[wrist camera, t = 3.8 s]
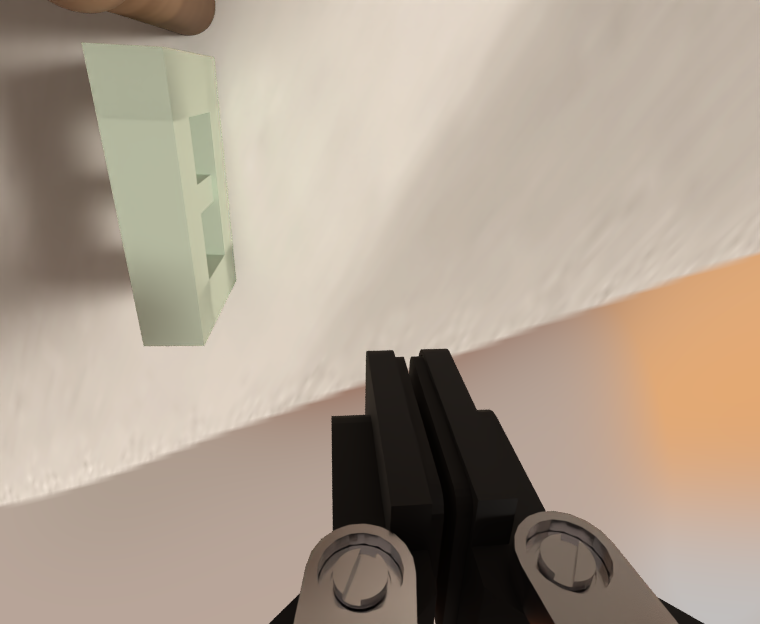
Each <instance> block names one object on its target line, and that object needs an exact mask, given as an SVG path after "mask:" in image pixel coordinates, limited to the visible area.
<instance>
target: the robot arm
mask: <svg viewBox="0 0 760 624" xmlns="http://www.w3.org/2000/svg"><path fill="white" fill-rule="evenodd" d="M365 398H366V399H365V400H366V402H365V403H366V404H365V415H351V416H332V489H333V490H332V499H333V531H332V532H331V533H329V534H328V535H326V536H325V537H324V538H322V539H321V540H320V541H319V543H318V544H317V545H316V546H315V548H314V549H313V550H312V551H311V554H310V557H309V559H308V562H307V564H306V567H305V572H304V577H303V581H302V586H301V591H300V594H299V595H298V596H297V597H296V598H295V599H294V600H293V601H292V602H291V603H290V604H289V605H288V606H287V607H286V608H285V609H283V610H282V611H281V613H279V615H277V616H276V617H275V618H274V619H273V620H272V621H271V622H270V623H269V624H434V618H435V623H436V624H704V623H702V622H700V621H698V620H697V619H695V618H693V617H691V616H690V615H688V614H686V613H684V612H683V611H681V610H679V609H677V608H675V607H674V606H672V605H670V604H668V603H667V602H665V601H663V600H661V599H660V598H658V597H656V595H655V594H654V593H653V592H652V590H651V589H650V588H649V587H648V585H647V584H646V583H645V582H644V581H643V579H642V578H641V577H640V575H639V574H638V573H637V572H636V571H635V569H634V568H633V567H632V566H631V564H630V563H629V562H628V561H627V559H626V558H625V557H624V556H623V554H622V553H621V552H620V551H619V550H618V548H617V547H616V546H615V544H614V543H613V542H612V541H611V540H610V539H609V538H608V537H607V536H606V535H605V534H604V533H603V532H602V531H601V530H599V529H598V528H596V527H595V526H593V525H592V524H590V523H589V522H587V521H585V520H583V519H581V518H578V517H576V516H573V515H571V514H567V513H562V512H556V511H547V512H546V511H545V509H544V507H543V505H542V503H541V501H540V499H539V497H538V495H537V493H536V492H535V490H534V488H533V486H532V484H531V482H530V480H529V478H528V477H527V475H526V472H525V471H524V469H523V467H522V465H521V463H520V461H519V459H518V457H517V455H516V453H515V451H514V449H513V447H512V445H511V444H510V442H509V440H508V438H507V436H506V434H505V432H504V430H503V428H502V426H501V424H500V422H499V421H498V419H497V417H496V415H495V414H494V412H493V411H491V410H477V409H476V408H475V405H474V403H473V401H472V399H471V397H470V395H469V393H468V390H467V388H466V386H465V384H464V382H463V380H462V377H461V375H460V373H459V371H458V369H457V367H456V365H455V363H454V360H453V358H452V356H451V354H450V352H449V350H448V349H421V350H420V353H419V356H417V357H411V359H410V368H409V373H408V369H407V366H406V363H405V359H404V357H395V354H394V351H393V350H387V351H367V352H366V396H365Z"/></svg>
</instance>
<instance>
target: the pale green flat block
mask: <svg viewBox="0 0 760 624" xmlns="http://www.w3.org/2000/svg"><path fill="white" fill-rule="evenodd" d="M81 44H82V49H83V54H84V58H85V63H86V68H87V73H88V78H89V83H90V88H91V92H92V97H93V102H94V107H95V112H96V117H97V121H98V126H99V131H100V136H101V141H102V146H103V151H104V155H105V160H106V165H107V170H108V175H109V180H110V185H111V189H112V194H113V199H114V204H115V209H116V214H117V219H118V223H119V228H120V233H121V238H122V243H123V248H124V252H125V257H126V262H127V267H128V272H129V277H130V282H131V286H132V291H133V296H134V301H135V306H136V311H137V316H138V320H139V325H140V330H141V335H142V340H143V345H144V346H204V345H205V343H206V341H207V339H208V337H209V335H210V333H211V331H212V329H213V327H214V325H215V323H216V321H217V319H218V317H219V315H220V313H221V311H222V309H223V306H224V304H225V302H226V300H227V298H228V296H229V294H230V292H231V290H232V288H233V286H234V284H235V282H236V274H235V264H234V254H233V244H232V233H231V223H230V213H229V203H228V193H227V183H226V173H225V163H224V152H223V142H222V132H221V122H220V112H219V102H218V92H217V82H216V72H215V61H214V57H210V56H205V55H200V54H195V53H190V52H185V51H180V50H175V49H170V48H165V47H155V46H136V45H118V44H99V43H81Z"/></svg>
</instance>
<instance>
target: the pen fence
mask: <svg viewBox="0 0 760 624" xmlns="http://www.w3.org/2000/svg"><path fill="white" fill-rule="evenodd" d="M48 1H50V2H52V3H54V4H56V5H58V6H60V7H62V8H65V9H68V10H71V11H75V12H81V13H100V12H105V11H108V12H111V13H114V14H118V15H121V16H124V17H127V18H131V19H134V20H137V21H140V22H144V23H147V24H150V25H153V26H157V27H160V28H163V29H166V30H170V31H173V32H176V33H179V34H183V35H196V34H199V33H201V32H203V31H205V30H206V29H207V28H208V27H209V25H210V24H211V22H212V20H213V18H214V14H215V0H48Z"/></svg>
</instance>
